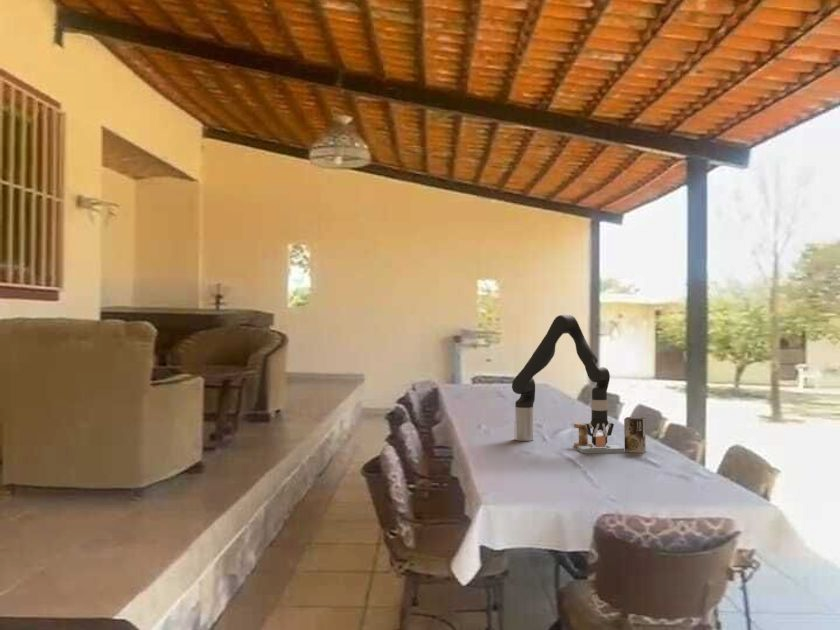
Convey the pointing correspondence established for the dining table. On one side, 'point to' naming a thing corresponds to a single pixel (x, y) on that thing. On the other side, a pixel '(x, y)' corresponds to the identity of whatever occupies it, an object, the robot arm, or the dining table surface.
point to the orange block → (600, 441)
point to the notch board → (601, 449)
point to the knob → (582, 435)
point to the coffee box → (634, 434)
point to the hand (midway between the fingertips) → (599, 444)
